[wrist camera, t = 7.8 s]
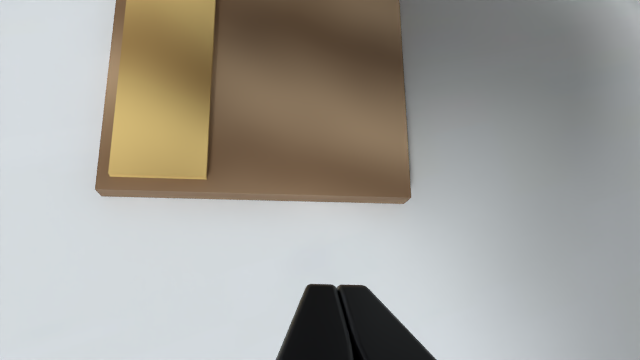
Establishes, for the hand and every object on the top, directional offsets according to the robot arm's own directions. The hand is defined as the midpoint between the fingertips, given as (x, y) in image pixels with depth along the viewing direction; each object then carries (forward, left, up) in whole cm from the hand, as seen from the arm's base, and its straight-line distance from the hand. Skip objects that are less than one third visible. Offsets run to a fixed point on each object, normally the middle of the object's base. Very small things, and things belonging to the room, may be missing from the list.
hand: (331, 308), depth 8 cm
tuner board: (+11, -4, -13) cm, 18 cm away
